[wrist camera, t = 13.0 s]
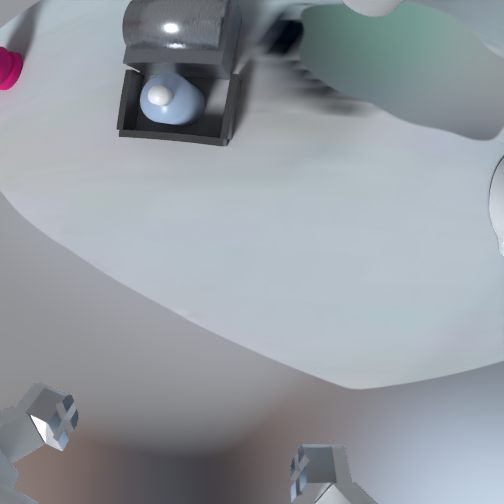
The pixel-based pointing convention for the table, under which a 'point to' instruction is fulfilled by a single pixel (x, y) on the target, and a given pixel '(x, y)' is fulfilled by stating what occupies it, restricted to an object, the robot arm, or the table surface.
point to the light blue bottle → (172, 100)
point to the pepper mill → (9, 68)
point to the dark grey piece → (179, 55)
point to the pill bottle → (373, 6)
